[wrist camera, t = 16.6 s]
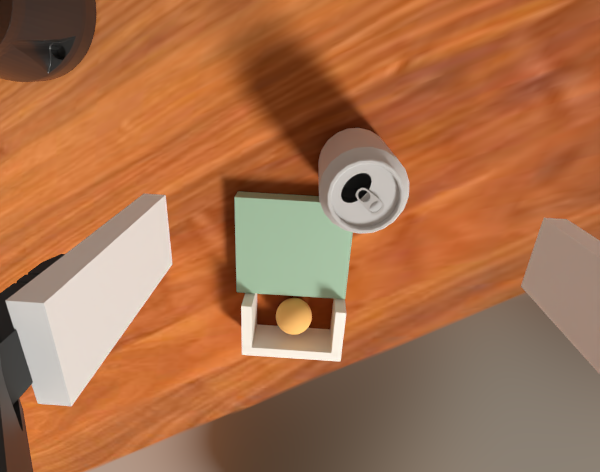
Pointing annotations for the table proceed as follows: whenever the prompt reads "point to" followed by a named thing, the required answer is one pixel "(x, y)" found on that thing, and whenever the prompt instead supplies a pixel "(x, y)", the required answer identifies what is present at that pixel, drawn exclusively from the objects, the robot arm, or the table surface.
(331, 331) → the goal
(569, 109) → the table surface
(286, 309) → the ball
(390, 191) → the can
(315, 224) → the board
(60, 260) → the robot arm
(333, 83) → the table surface
